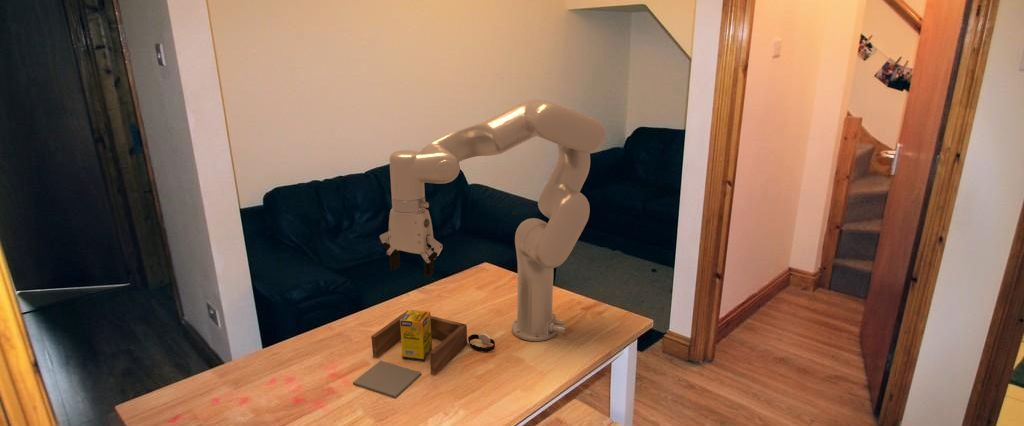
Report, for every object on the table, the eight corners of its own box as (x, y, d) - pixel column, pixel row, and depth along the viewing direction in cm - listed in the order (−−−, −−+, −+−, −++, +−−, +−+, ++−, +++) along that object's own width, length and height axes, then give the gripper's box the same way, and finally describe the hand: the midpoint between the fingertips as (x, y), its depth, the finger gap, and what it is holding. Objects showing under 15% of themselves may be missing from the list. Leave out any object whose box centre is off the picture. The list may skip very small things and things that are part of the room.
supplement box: (424, 362, 132) (422, 322, 129) (401, 359, 133) (399, 320, 130) (432, 349, 137) (430, 311, 134) (410, 346, 139) (408, 308, 135)
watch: (498, 347, 139) (498, 334, 138) (489, 356, 135) (489, 343, 134) (474, 339, 142) (473, 327, 141) (464, 347, 138) (463, 335, 137)
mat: (421, 374, 127) (421, 372, 127) (395, 398, 118) (395, 396, 118) (380, 362, 132) (380, 360, 131) (353, 384, 123) (352, 382, 123)
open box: (467, 345, 139) (466, 324, 138) (435, 375, 126) (434, 353, 125) (409, 329, 147) (407, 310, 145) (373, 357, 134) (371, 336, 132)
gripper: (449, 205, 123) (450, 273, 128) (388, 196, 130) (392, 261, 135) (431, 213, 117) (433, 285, 122) (368, 203, 124) (373, 271, 129)
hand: (411, 272), depth 129 cm, fingers open, 9 cm apart
